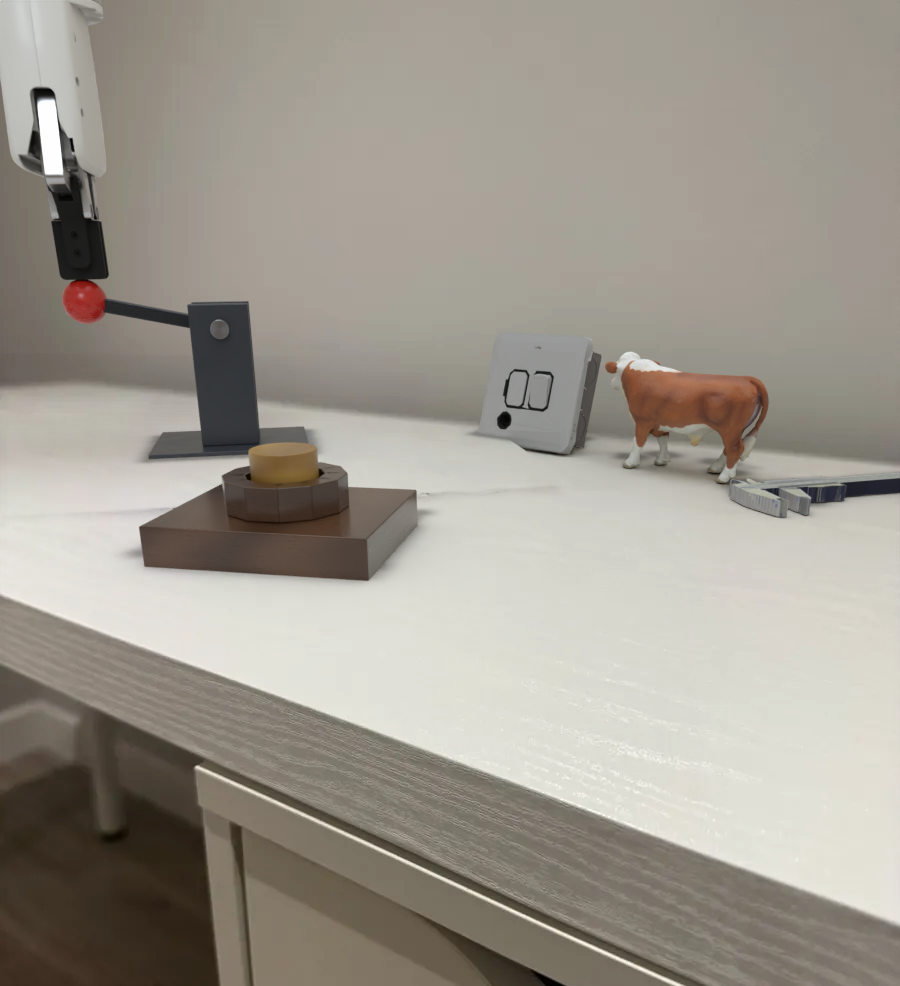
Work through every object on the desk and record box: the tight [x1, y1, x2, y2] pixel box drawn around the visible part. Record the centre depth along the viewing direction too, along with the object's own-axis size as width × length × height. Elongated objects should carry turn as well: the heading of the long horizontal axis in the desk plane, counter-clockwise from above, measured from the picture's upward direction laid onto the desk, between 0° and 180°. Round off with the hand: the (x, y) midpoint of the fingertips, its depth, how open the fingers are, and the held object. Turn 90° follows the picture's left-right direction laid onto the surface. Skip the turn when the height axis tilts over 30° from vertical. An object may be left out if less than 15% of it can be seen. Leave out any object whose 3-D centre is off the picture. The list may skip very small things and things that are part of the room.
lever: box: [61, 280, 190, 329], centre depth 67 cm, size 13×3×3 cm, turn 101°
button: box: [248, 442, 319, 483], centre depth 47 cm, size 4×4×2 cm
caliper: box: [728, 472, 900, 518], centre depth 59 cm, size 20×1×6 cm
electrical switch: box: [477, 331, 603, 455], centre depth 73 cm, size 9×5×9 cm, turn 49°
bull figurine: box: [604, 351, 770, 484], centre depth 64 cm, size 4×13×8 cm, turn 41°
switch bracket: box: [148, 300, 309, 460], centre depth 70 cm, size 12×10×12 cm
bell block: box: [138, 461, 418, 582], centre depth 48 cm, size 12×10×4 cm
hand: (85, 278), depth 66 cm, fingers closed
